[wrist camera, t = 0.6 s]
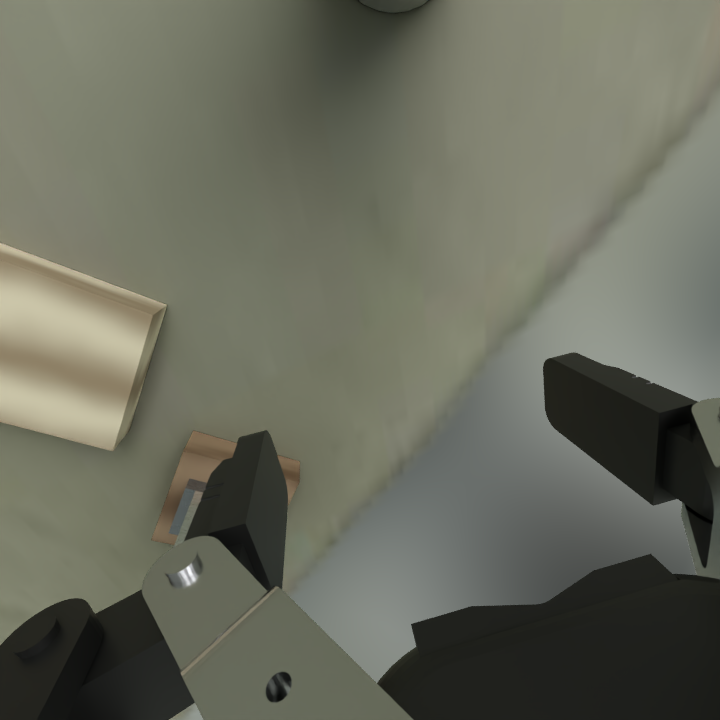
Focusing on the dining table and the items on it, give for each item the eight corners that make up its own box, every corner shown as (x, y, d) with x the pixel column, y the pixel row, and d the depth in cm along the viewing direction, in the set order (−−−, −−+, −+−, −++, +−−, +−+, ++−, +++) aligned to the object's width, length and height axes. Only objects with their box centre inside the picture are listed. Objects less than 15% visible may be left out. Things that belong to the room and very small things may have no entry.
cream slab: (-15, 237, 26) (-53, 240, 23) (167, 304, 29) (153, 315, 26) (-36, 384, 29) (-71, 403, 26) (129, 430, 32) (112, 451, 30)
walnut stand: (193, 430, 33) (183, 450, 30) (299, 461, 36) (299, 482, 33) (162, 514, 36) (151, 540, 33) (263, 537, 39) (260, 562, 36)
